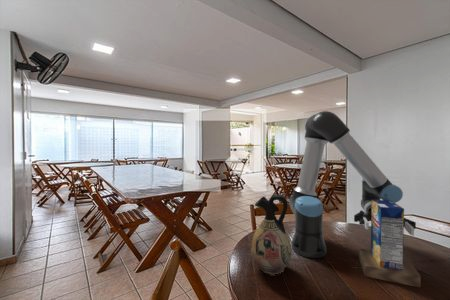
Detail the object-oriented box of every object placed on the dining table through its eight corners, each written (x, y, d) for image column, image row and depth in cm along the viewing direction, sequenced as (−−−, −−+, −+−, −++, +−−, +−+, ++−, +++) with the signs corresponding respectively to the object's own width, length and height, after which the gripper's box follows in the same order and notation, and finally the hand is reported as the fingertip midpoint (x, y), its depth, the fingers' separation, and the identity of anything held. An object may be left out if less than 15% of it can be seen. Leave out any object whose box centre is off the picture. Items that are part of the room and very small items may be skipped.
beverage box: (380, 267, 78) (381, 207, 78) (370, 252, 89) (371, 199, 88) (402, 270, 76) (404, 208, 75) (390, 255, 86) (391, 200, 86)
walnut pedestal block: (364, 276, 79) (365, 265, 79) (358, 257, 92) (358, 248, 92) (420, 287, 73) (420, 276, 73) (405, 265, 86) (405, 255, 86)
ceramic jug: (247, 277, 79) (246, 196, 78) (254, 256, 94) (254, 188, 93) (295, 286, 74) (296, 200, 73) (295, 262, 89) (296, 190, 88)
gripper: (409, 223, 94) (433, 245, 74) (344, 216, 104) (350, 233, 84) (410, 206, 93) (433, 223, 74) (344, 200, 103) (350, 214, 84)
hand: (389, 229), depth 79 cm, fingers open, 13 cm apart
